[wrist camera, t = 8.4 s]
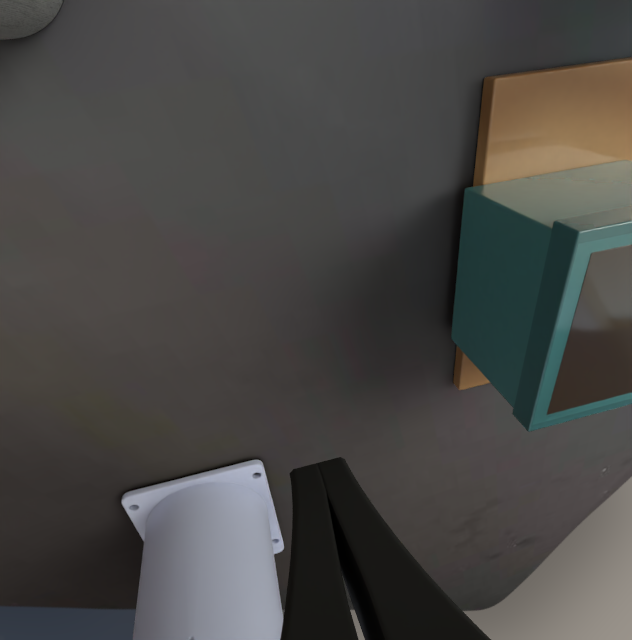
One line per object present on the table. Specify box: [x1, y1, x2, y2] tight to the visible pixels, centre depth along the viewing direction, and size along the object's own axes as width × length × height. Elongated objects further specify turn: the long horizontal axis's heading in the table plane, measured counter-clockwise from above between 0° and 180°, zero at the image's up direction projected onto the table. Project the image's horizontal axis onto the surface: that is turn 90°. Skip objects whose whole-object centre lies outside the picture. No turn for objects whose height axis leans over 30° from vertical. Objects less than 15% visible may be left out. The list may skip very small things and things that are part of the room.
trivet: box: [453, 57, 632, 390], centre depth 21 cm, size 16×12×1 cm
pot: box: [451, 160, 632, 432], centre depth 18 cm, size 9×6×8 cm
